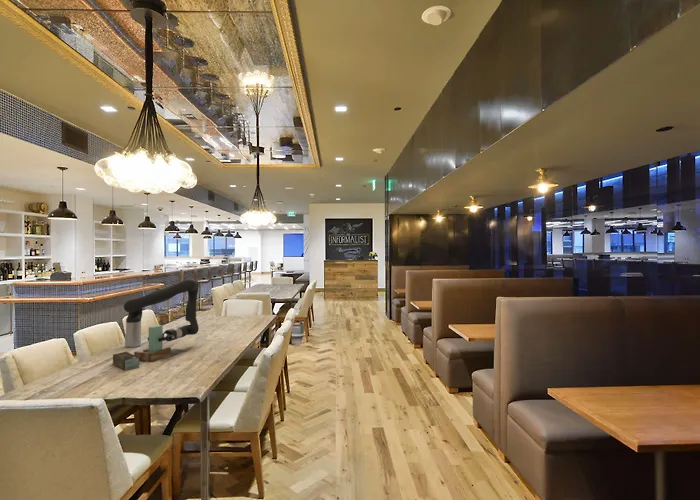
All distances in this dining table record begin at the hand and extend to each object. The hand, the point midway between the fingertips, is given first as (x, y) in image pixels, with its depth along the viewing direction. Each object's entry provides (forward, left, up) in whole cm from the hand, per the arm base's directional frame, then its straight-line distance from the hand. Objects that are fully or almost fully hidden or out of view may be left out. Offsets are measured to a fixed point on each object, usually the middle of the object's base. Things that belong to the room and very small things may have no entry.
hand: (153, 339), depth 237 cm
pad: (+9, +15, -12) cm, 21 cm away
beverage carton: (-11, -12, -13) cm, 21 cm away
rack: (-1, +4, -12) cm, 13 cm away
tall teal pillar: (+1, +2, -12) cm, 12 cm away
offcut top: (-4, +4, -9) cm, 10 cm away
